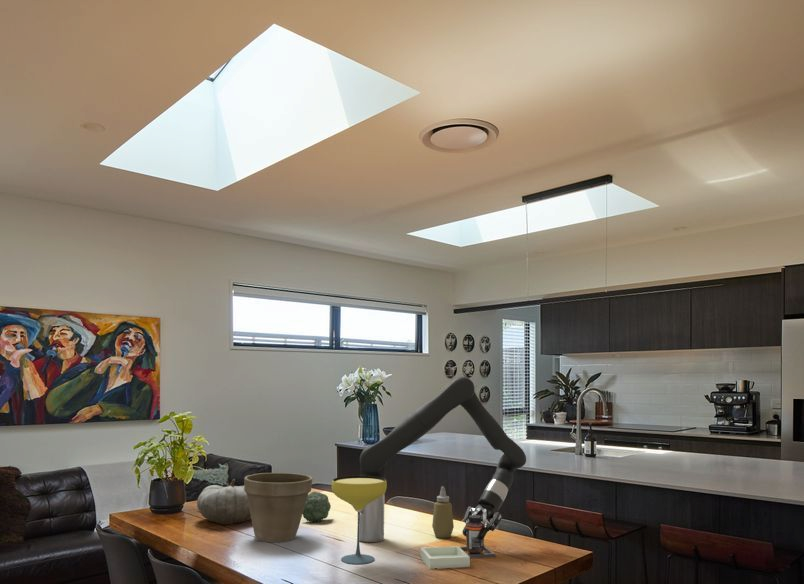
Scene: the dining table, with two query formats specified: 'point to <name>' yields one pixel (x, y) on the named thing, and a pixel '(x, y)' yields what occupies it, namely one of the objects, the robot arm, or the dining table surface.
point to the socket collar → (488, 554)
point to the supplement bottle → (474, 534)
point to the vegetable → (316, 507)
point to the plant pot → (276, 504)
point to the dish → (444, 557)
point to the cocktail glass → (358, 503)
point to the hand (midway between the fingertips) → (471, 536)
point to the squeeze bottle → (443, 516)
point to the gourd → (224, 504)
